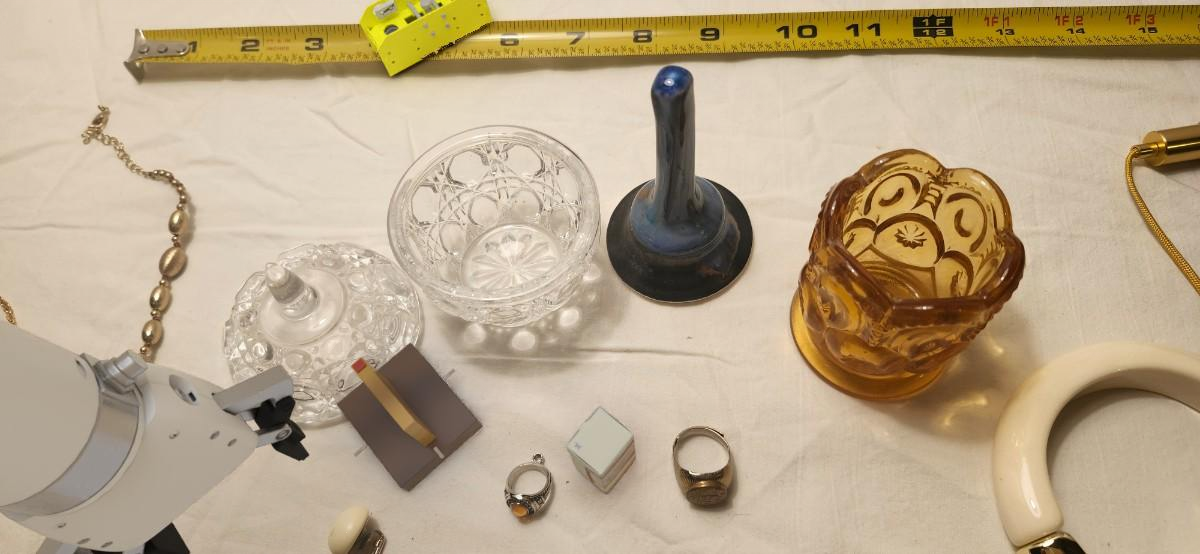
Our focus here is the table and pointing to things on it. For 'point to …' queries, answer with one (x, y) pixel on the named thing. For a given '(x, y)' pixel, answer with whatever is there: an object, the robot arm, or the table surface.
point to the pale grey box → (602, 449)
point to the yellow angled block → (393, 402)
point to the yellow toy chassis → (419, 27)
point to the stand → (428, 402)
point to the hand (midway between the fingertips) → (237, 491)
